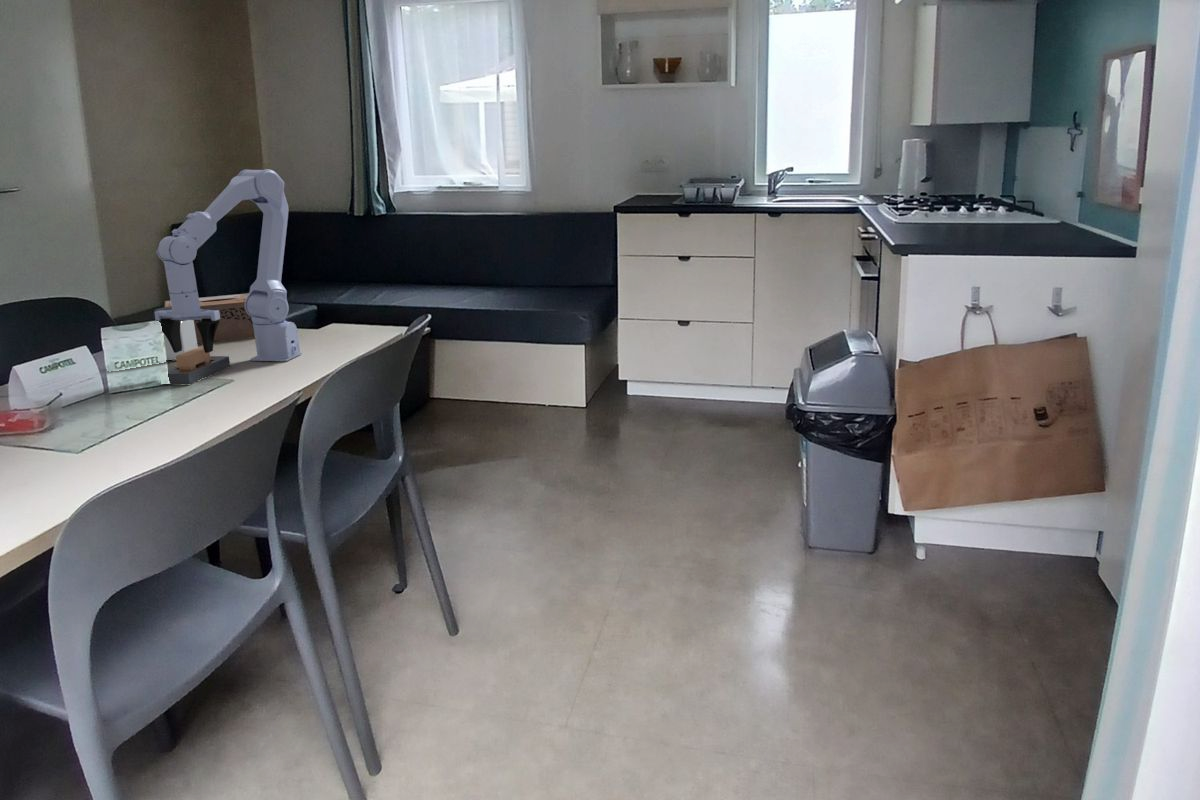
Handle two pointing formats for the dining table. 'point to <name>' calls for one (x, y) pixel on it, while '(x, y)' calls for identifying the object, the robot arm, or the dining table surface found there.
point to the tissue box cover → (227, 317)
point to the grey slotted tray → (198, 370)
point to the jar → (185, 333)
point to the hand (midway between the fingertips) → (193, 351)
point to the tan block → (192, 359)
